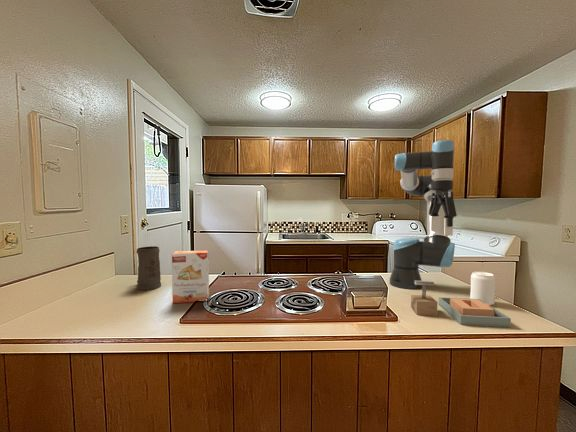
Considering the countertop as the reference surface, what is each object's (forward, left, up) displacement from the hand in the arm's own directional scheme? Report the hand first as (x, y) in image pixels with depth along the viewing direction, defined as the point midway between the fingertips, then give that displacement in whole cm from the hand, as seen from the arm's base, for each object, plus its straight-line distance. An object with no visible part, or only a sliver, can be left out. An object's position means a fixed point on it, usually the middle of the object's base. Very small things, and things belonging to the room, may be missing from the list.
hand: (440, 233), depth 109 cm
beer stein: (-6, -134, -29) cm, 137 cm away
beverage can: (-4, +18, -29) cm, 34 cm away
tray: (+10, +7, -29) cm, 31 cm away
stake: (+9, -9, -29) cm, 31 cm away
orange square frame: (+10, +7, -28) cm, 31 cm away
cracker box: (+10, -102, -29) cm, 106 cm away
